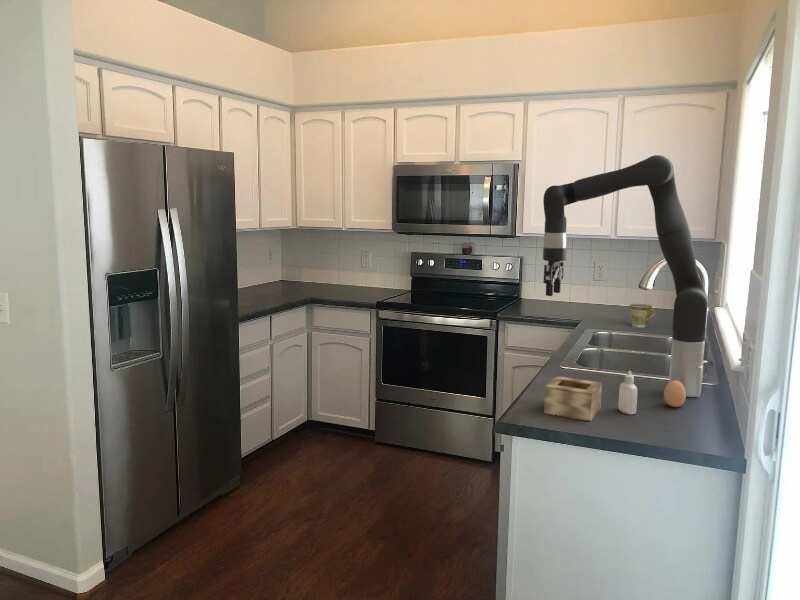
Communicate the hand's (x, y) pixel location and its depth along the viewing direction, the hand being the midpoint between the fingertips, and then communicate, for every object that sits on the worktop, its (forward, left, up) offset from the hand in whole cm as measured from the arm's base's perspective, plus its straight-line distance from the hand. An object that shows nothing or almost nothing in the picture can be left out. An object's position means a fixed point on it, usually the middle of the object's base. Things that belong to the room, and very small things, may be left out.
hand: (553, 294), depth 219 cm
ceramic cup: (-13, -106, -28) cm, 110 cm away
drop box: (-17, +34, -28) cm, 48 cm away
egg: (-42, +14, -28) cm, 52 cm away
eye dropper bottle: (-31, +26, -28) cm, 49 cm away
